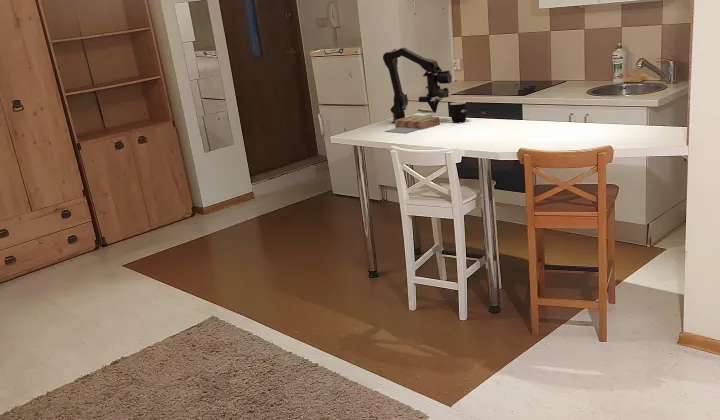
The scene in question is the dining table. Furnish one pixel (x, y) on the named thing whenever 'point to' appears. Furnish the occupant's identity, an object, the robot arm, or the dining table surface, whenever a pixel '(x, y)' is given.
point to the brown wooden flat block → (417, 122)
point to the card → (422, 115)
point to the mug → (458, 111)
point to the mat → (402, 130)
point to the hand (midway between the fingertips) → (434, 112)
